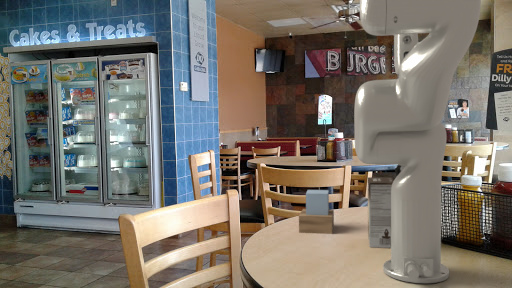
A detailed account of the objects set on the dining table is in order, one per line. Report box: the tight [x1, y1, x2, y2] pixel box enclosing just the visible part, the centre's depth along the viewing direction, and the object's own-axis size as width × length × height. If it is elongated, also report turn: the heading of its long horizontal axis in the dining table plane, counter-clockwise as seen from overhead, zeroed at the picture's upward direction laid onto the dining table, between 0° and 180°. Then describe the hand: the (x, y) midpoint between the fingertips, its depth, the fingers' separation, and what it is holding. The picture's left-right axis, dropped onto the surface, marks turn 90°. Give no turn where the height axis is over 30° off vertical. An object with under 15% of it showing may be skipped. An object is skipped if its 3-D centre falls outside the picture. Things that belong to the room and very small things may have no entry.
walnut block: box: [298, 208, 335, 235], centre depth 128 cm, size 9×9×5 cm
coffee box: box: [367, 176, 395, 249], centre depth 113 cm, size 9×6×16 cm
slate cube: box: [305, 189, 330, 215], centre depth 128 cm, size 6×6×6 cm
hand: (405, 97), depth 111 cm, fingers open, 9 cm apart
